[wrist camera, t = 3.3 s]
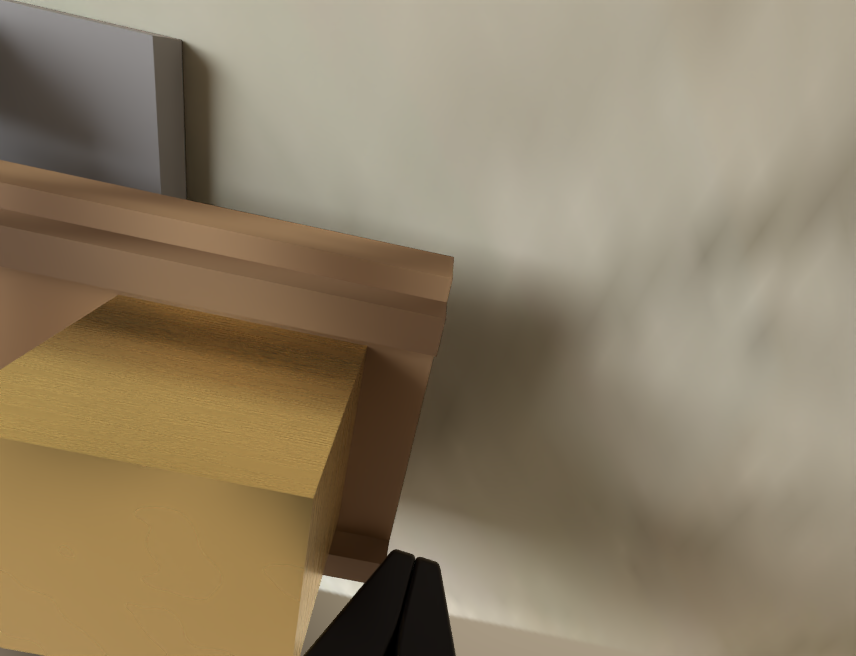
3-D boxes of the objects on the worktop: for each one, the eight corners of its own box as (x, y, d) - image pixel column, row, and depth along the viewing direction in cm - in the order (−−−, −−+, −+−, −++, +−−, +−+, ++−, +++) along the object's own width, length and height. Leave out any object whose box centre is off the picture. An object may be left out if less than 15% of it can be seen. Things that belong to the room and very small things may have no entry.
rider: (366, 345, 10) (312, 499, 6) (338, 516, 12) (287, 699, 9) (118, 294, 10) (-82, 421, 6) (137, 478, 12) (-1, 647, 8)
